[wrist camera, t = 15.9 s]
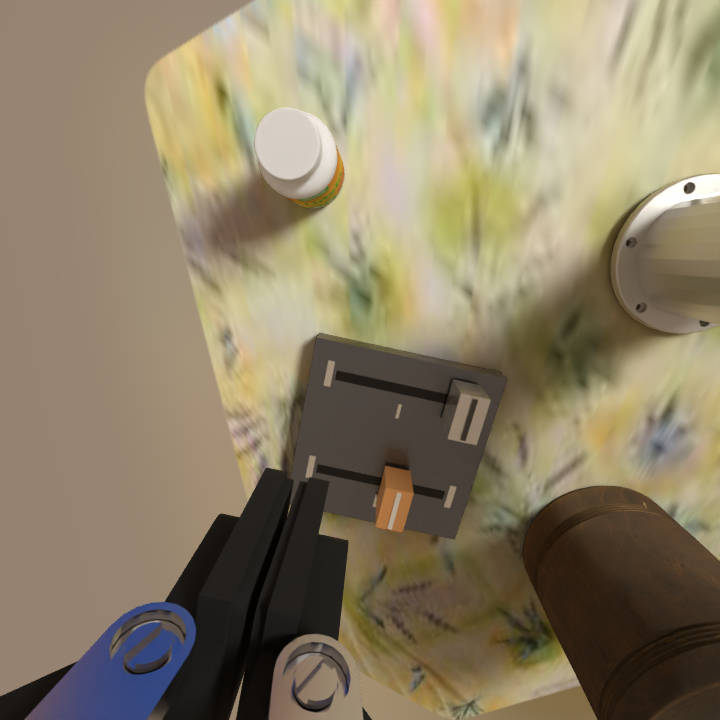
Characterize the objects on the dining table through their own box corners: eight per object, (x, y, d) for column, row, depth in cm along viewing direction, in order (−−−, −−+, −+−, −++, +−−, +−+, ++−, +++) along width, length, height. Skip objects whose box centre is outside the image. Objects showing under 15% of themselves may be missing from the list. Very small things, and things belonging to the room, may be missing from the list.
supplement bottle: (313, 223, 34) (289, 212, 25) (267, 175, 33) (223, 144, 24) (358, 174, 33) (350, 143, 24) (311, 123, 32) (283, 70, 23)
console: (500, 372, 37) (507, 378, 35) (451, 525, 41) (454, 539, 39) (319, 332, 37) (316, 337, 35) (290, 491, 41) (285, 503, 39)
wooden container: (551, 623, 44) (712, 969, 23) (500, 517, 41) (630, 804, 20) (689, 577, 42) (1011, 915, 20) (645, 461, 38) (973, 717, 17)
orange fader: (410, 471, 37) (413, 494, 34) (400, 507, 38) (402, 534, 35) (385, 465, 37) (385, 488, 34) (375, 502, 38) (375, 528, 35)
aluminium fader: (479, 385, 35) (491, 400, 31) (467, 426, 36) (476, 446, 32) (452, 379, 35) (461, 394, 31) (440, 420, 36) (447, 439, 32)
